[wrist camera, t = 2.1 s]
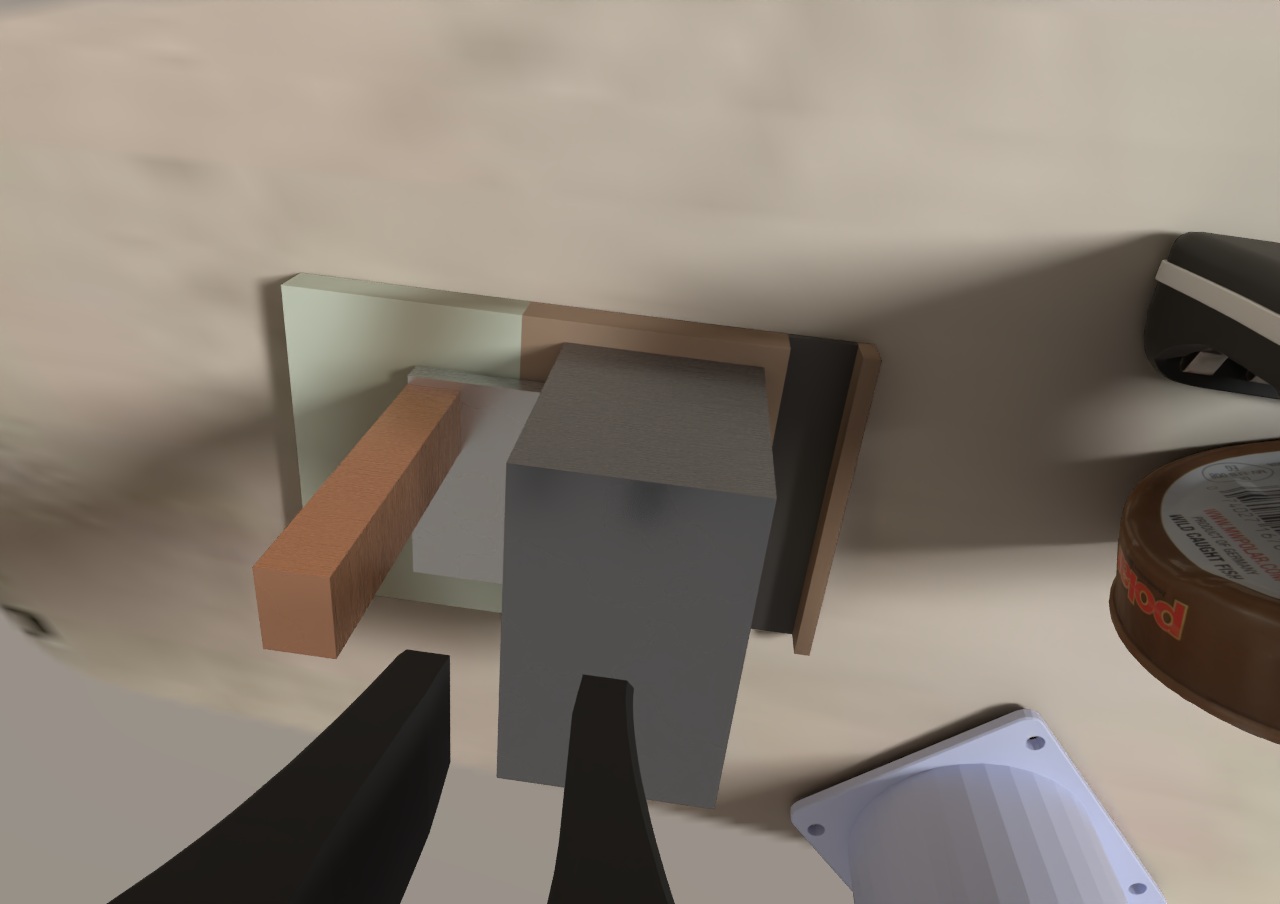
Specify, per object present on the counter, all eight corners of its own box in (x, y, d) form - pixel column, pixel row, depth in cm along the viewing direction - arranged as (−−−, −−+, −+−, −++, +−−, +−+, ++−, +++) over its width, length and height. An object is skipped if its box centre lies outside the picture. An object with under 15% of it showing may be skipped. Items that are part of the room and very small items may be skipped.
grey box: (764, 367, 19) (776, 498, 14) (718, 627, 23) (714, 809, 18) (565, 342, 20) (506, 462, 14) (548, 604, 23) (496, 777, 18)
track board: (874, 344, 20) (881, 360, 19) (806, 631, 24) (808, 655, 23) (300, 272, 20) (281, 285, 20) (325, 565, 24) (310, 586, 23)
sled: (748, 408, 20) (758, 626, 13) (715, 598, 22) (708, 866, 15) (416, 365, 20) (251, 556, 13) (420, 558, 23) (284, 803, 16)
